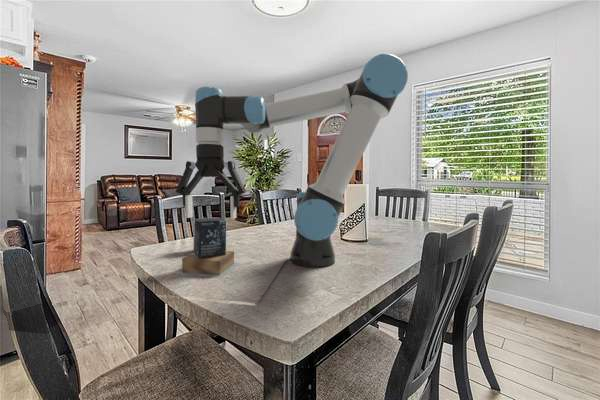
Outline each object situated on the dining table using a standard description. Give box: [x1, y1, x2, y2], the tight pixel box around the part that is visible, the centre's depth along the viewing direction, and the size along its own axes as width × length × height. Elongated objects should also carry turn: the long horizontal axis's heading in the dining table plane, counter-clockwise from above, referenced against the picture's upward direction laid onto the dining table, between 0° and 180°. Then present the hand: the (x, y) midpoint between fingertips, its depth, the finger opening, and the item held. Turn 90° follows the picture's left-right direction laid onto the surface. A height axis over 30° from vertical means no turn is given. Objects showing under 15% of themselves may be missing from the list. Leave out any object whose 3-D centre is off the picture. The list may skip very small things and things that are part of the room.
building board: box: [174, 262, 241, 278], centre depth 88 cm, size 14×14×1 cm
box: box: [193, 217, 227, 258], centre depth 87 cm, size 8×6×11 cm
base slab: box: [181, 250, 235, 275], centre depth 87 cm, size 11×11×4 cm
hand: (211, 218), depth 87 cm, fingers open, 13 cm apart
